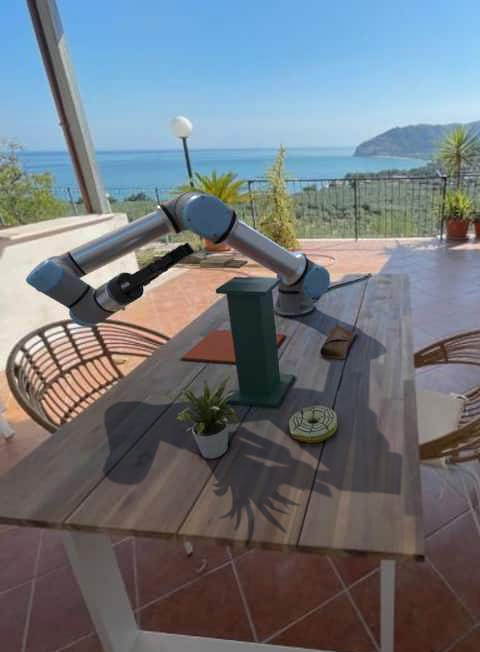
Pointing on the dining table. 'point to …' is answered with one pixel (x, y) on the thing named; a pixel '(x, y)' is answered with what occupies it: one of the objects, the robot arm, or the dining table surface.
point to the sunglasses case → (338, 343)
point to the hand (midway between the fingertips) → (187, 248)
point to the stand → (255, 342)
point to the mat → (217, 348)
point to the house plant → (209, 420)
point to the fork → (209, 261)
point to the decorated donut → (313, 424)
